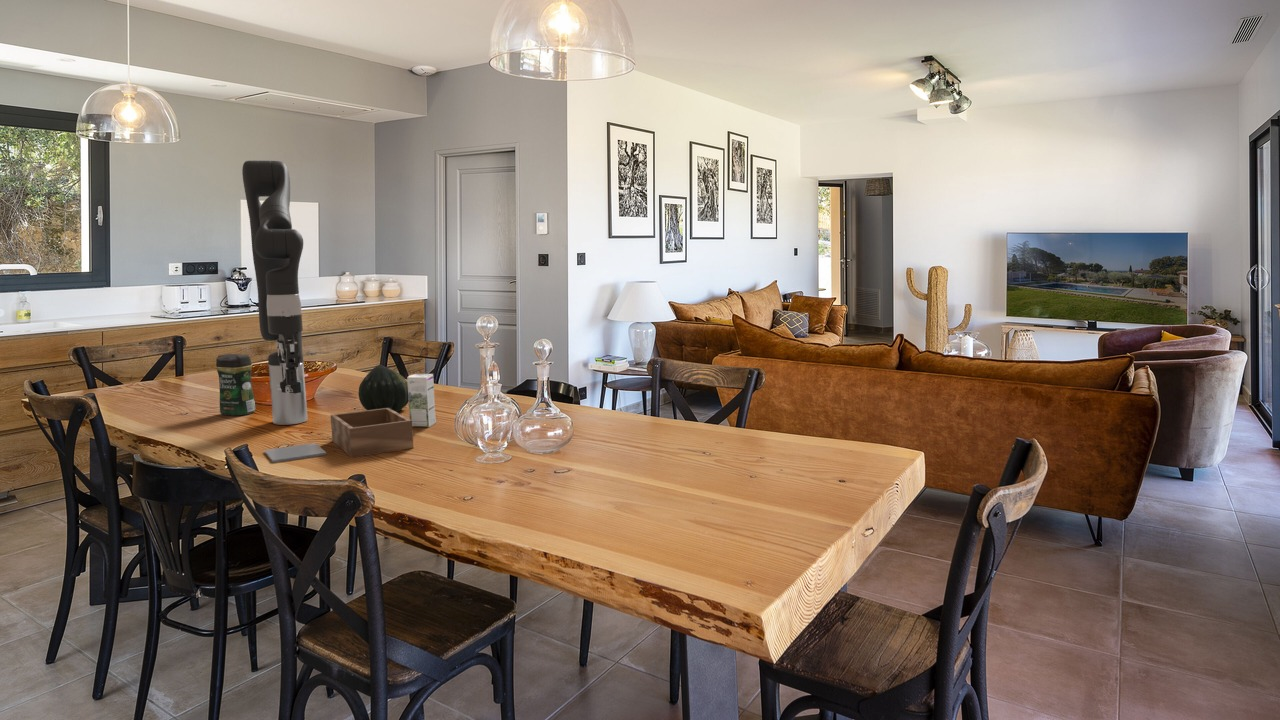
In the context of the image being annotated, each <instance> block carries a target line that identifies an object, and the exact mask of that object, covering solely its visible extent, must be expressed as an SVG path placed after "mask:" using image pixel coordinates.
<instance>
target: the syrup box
mask: <svg viewBox="0 0 1280 720" xmlns="http://www.w3.org/2000/svg"><path fill="white" fill-rule="evenodd" d="M406 379H407V380H406V381H407V383H408V399H409V401H408V413H409V419H410V420H412V428H430V427H432V426H434V425H435V424H436V422H437V421H436V419H437V418H436V407H435V406H436V405H435V385H434V381H435V379H434V373H413V374H410V375H408V376H407V378H406Z"/></svg>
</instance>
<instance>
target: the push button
mask: <svg viewBox="0 0 1280 720" xmlns="http://www.w3.org/2000/svg"><path fill="white" fill-rule="evenodd" d="M300 357H302V356H301V355H300V354H298V362H300V361H301V358H300ZM277 358H279V362H280V363H282V365H283V374H284V378H283V380H284V381H283V382H280V385H277V386H280V388H281V389H277V390H281V391H282V392H283V393H294V394H296V393H300V392H302V382H301V381H298V380H299V379H298V367H297V369H296V375H297V384H296V385H288V384H287V381H286V369H285V363H284V361H283V360H282V357H281V356H277ZM289 363H293V360H289Z"/></svg>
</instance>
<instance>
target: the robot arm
mask: <svg viewBox="0 0 1280 720" xmlns="http://www.w3.org/2000/svg"><path fill="white" fill-rule="evenodd" d="M241 172H242V173H241V174H242V181H243V182H242V183H243V187H244V193H245V199H246V206H247V211H248V216H249V217H248V218H249V225H250V227H249V228H250V234H251V235H250V239H251V251H252V258H253V259H252V260H253V267H254V273H255V280H256V286H257V287H256V289H257V302H258V303H257V305H258V319H259V324H258V325H259V332H260V334H261V335H260V336H261V337H262V339H263V340H265V341H273V342H274V341H275V343H276V349H277V351H274V352H272V353H270V354H269V355H268V356H267V360H268V361H267V363H268V375H269V384H270V386H269V387H270V399H271V400H270V401H271V413H272V423H273V424H274V425H279V426H280V425H281V426H285V425H287V426H288V425H289V426H290V425H296V424H297V425H298V424H301V423H305V422H307V421H308V408H307V406H308V405H307V393H306V380H305V379H306V378H305V366H304V355H303V344H302V343H303V341H302V334H303V333H302V332H303V331H304V329H303V317H302V316H303V314H302V313H303V312H302V303H301V298H300V294H299V293H300V290H299V288H300V287H299V266H300V261H301V258H302V254H303V249H304V238H303V236H302V234H301V233H300V231H298V230H297V229H294V228H293V225H292V218H291V213H290V205H291V204H290V203H291V178H290V172H289V169H288V167H287V164H285V162H282V161H280V160H246V161H244V162H243V164H242V171H241ZM261 197H266V199H265V200H264V201H263V202H261V201H260V198H261ZM298 354H300V355H301V356H302V357H300V358H301V361H300V362H298ZM277 356H281V357H282V360H283V361H284V363H285V369H286V381H287V384H288V385H296V384H297V375H296V369H297V367H298V379H299V380H298V381H301V382H302V392H300V393H296V394H294V393H283V392H282V391H281V390H277V389H281V388H280V386H277V385H280V382H283V381H284V380H283V378H284V374H283V365H282V363H280V362H279V358H277ZM289 360H293V363H289Z"/></svg>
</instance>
